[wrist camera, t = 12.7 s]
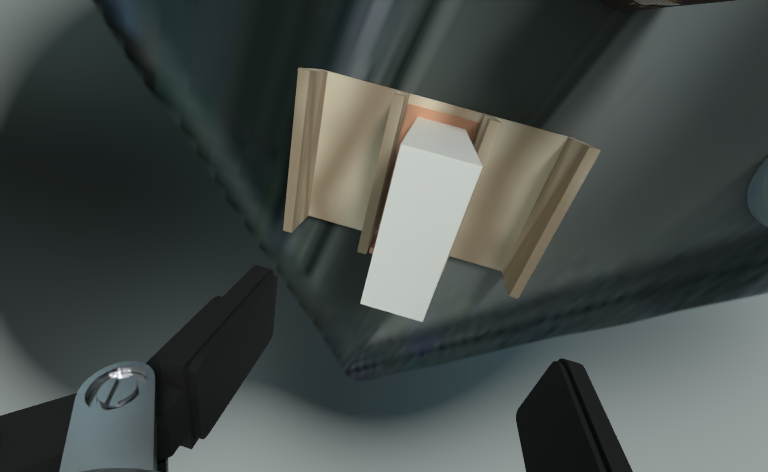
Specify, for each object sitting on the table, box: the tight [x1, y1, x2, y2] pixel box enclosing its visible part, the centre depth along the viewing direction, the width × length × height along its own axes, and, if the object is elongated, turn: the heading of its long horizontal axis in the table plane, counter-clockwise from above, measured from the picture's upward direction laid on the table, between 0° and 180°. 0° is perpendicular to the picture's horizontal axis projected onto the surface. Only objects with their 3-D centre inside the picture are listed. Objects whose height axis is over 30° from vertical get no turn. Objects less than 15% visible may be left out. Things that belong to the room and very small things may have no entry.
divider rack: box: [283, 68, 601, 299], centre depth 27 cm, size 21×14×5 cm, turn 76°
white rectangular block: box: [360, 117, 483, 322], centre depth 23 cm, size 4×10×12 cm, turn 167°
